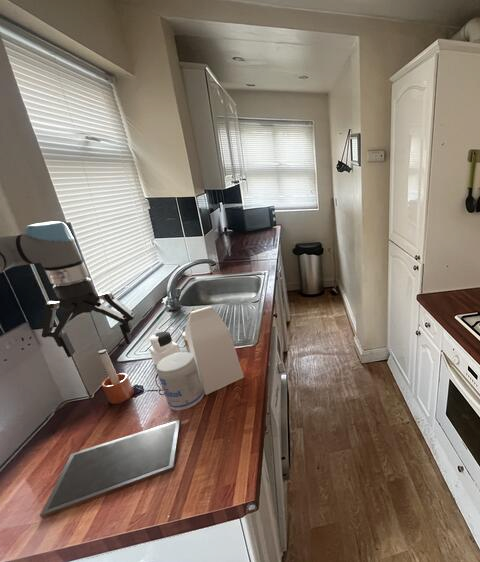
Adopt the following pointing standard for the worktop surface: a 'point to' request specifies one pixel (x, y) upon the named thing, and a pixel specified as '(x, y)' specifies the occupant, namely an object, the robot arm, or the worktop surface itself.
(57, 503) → the tablet
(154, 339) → the medicine bottle
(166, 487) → the worktop surface
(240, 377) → the milk
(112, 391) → the pen cup
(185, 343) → the sprinkles bottle
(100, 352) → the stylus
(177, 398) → the supplement tub
